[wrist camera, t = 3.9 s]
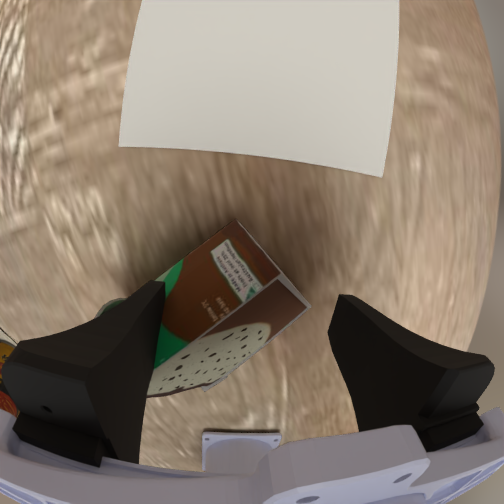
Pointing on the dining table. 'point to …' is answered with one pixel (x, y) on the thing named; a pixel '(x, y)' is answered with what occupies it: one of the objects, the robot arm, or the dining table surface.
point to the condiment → (3, 347)
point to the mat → (265, 79)
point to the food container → (218, 311)
